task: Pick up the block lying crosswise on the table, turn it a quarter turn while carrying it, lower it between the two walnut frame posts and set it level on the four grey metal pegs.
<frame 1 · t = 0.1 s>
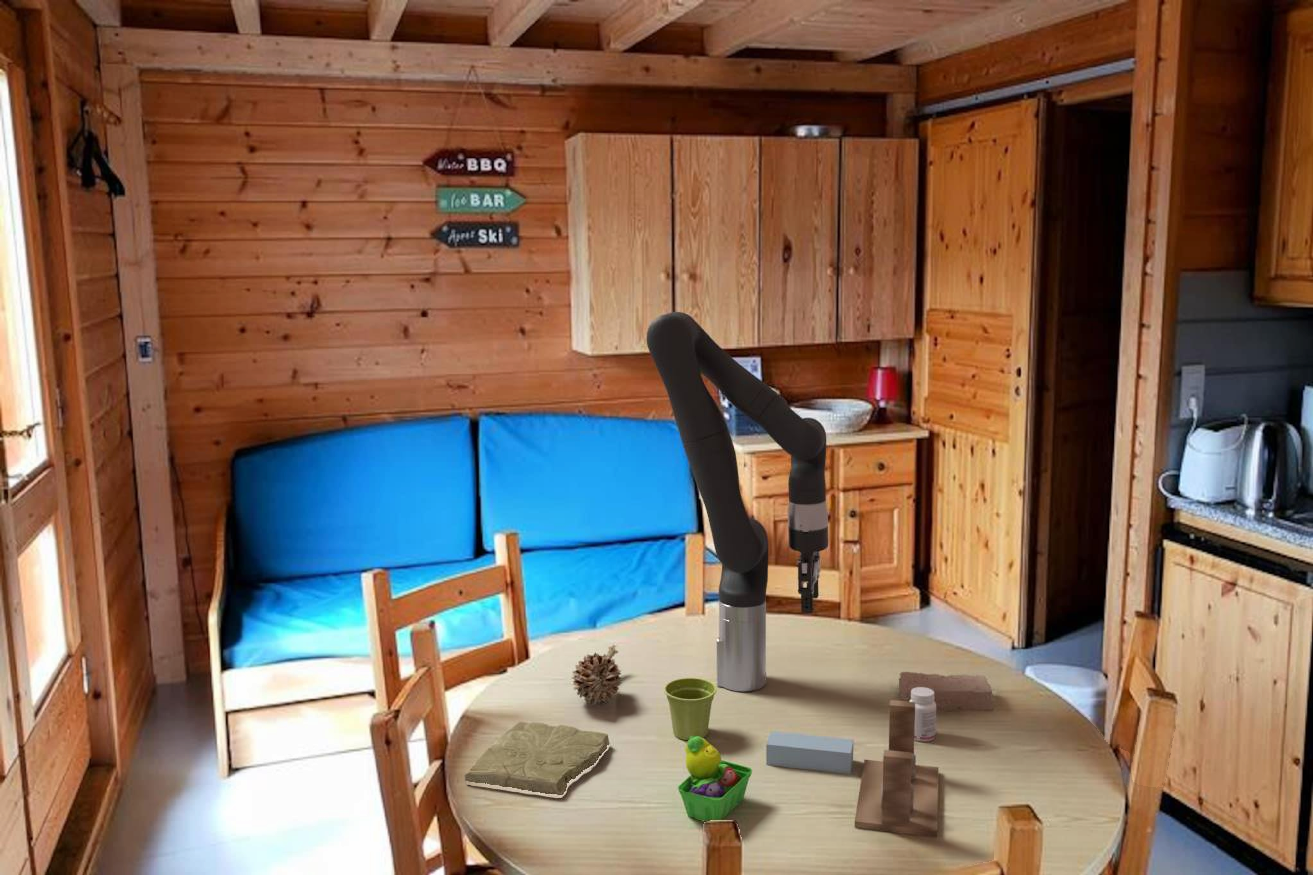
hand: (810, 605, 211), 17 cm above the table, tool pointing down, fingers open, 8 cm apart
plant pot: (690, 734, 196), on the table
pill bottle: (921, 737, 193), on the table
brick: (945, 703, 207), on the table
fruit basket: (712, 808, 171), on the table
block: (809, 763, 185), on the table
pine cone: (601, 694, 213), on the table
decorative tile: (541, 768, 185), on the table
peg stand: (898, 798, 172), on the table
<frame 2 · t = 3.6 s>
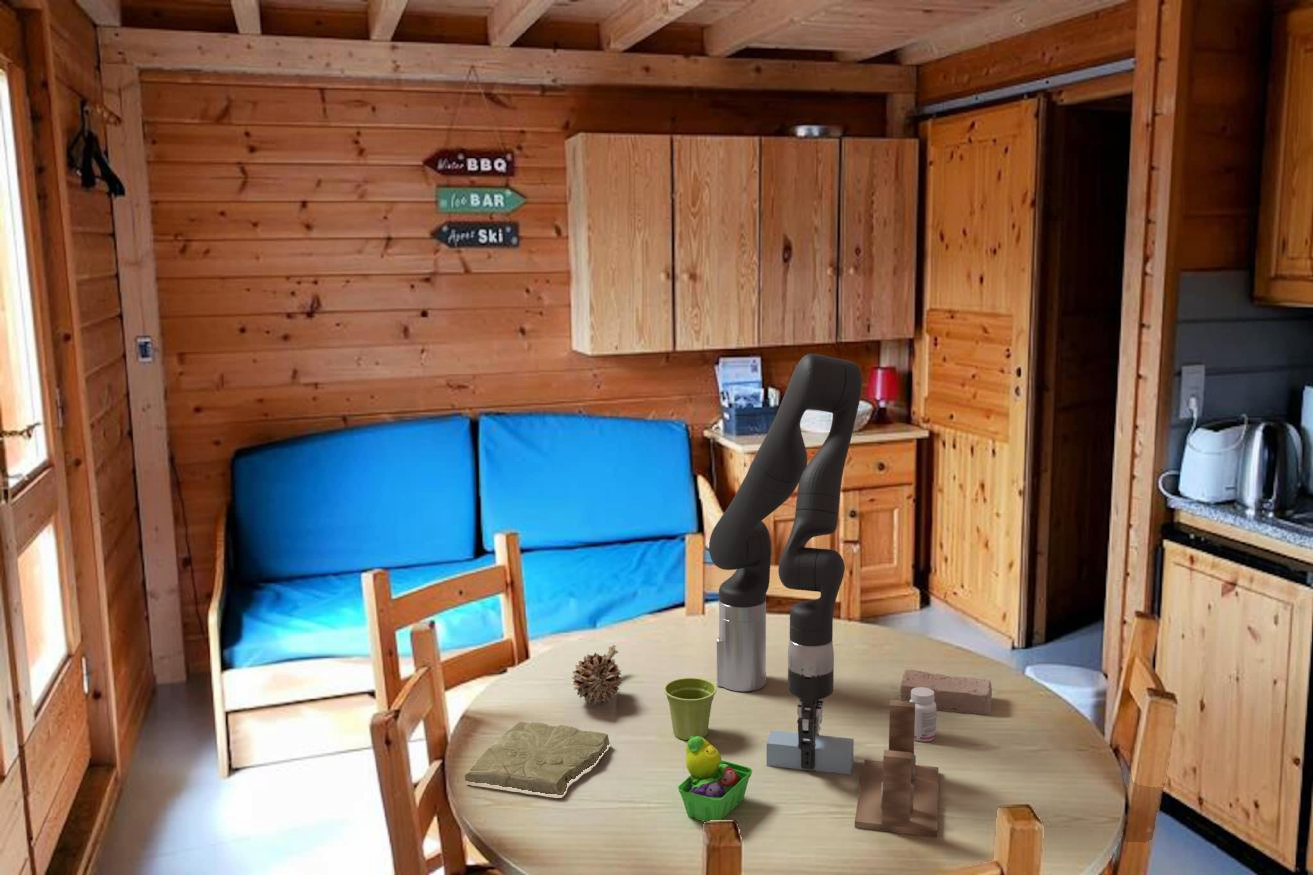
hand: (809, 759, 184), 1 cm above the table, tool pointing down, fingers closed on block, 5 cm apart
block: (810, 762, 184), on the table, touching gripper
when the fingers open (7 cm above the table, at t = 8.6 s): block drops 1 cm, resting on peg stand.
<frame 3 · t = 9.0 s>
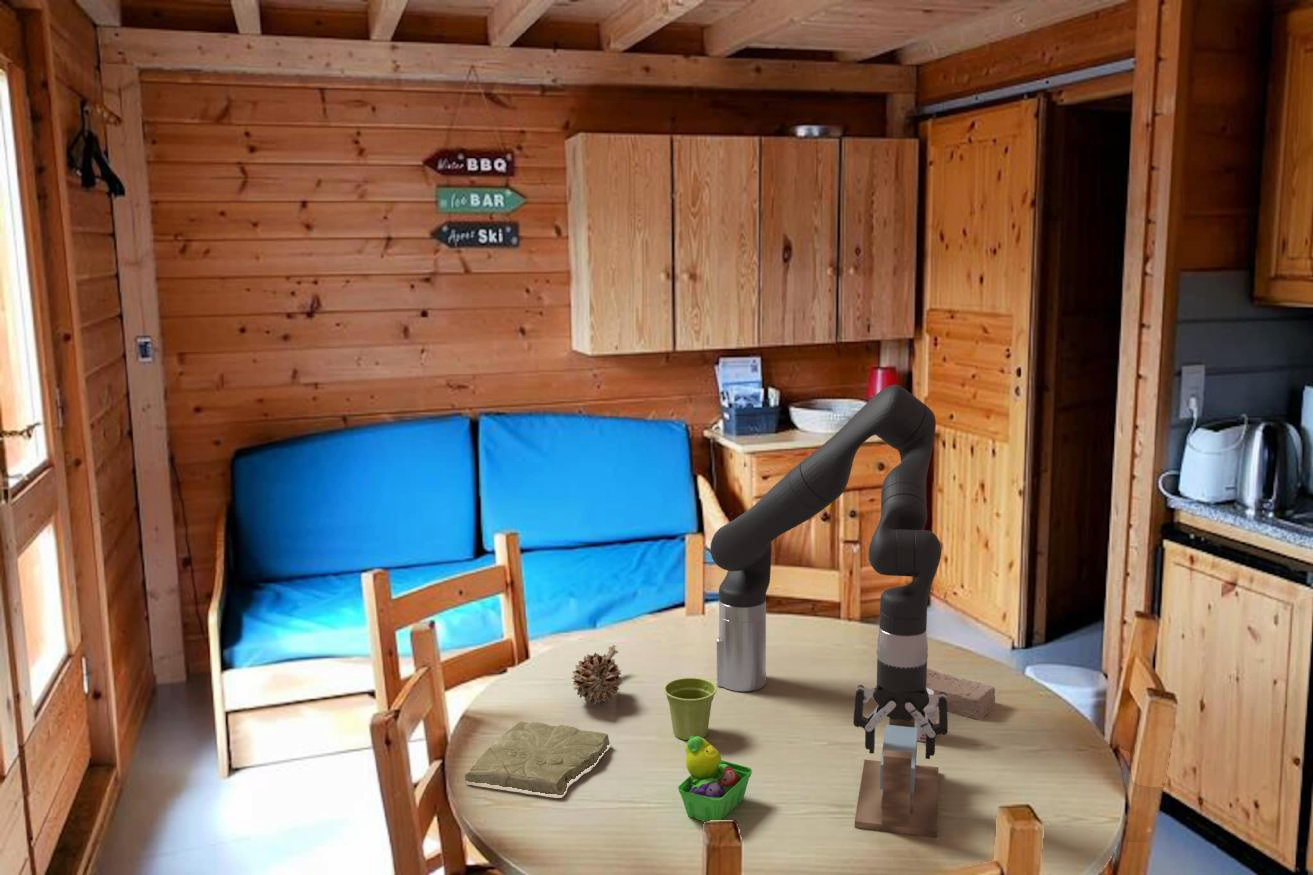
hand: (899, 753, 171), 8 cm above the table, tool pointing down, fingers open, 8 cm apart
block: (899, 769, 171), point 5 cm above the table, touching peg stand
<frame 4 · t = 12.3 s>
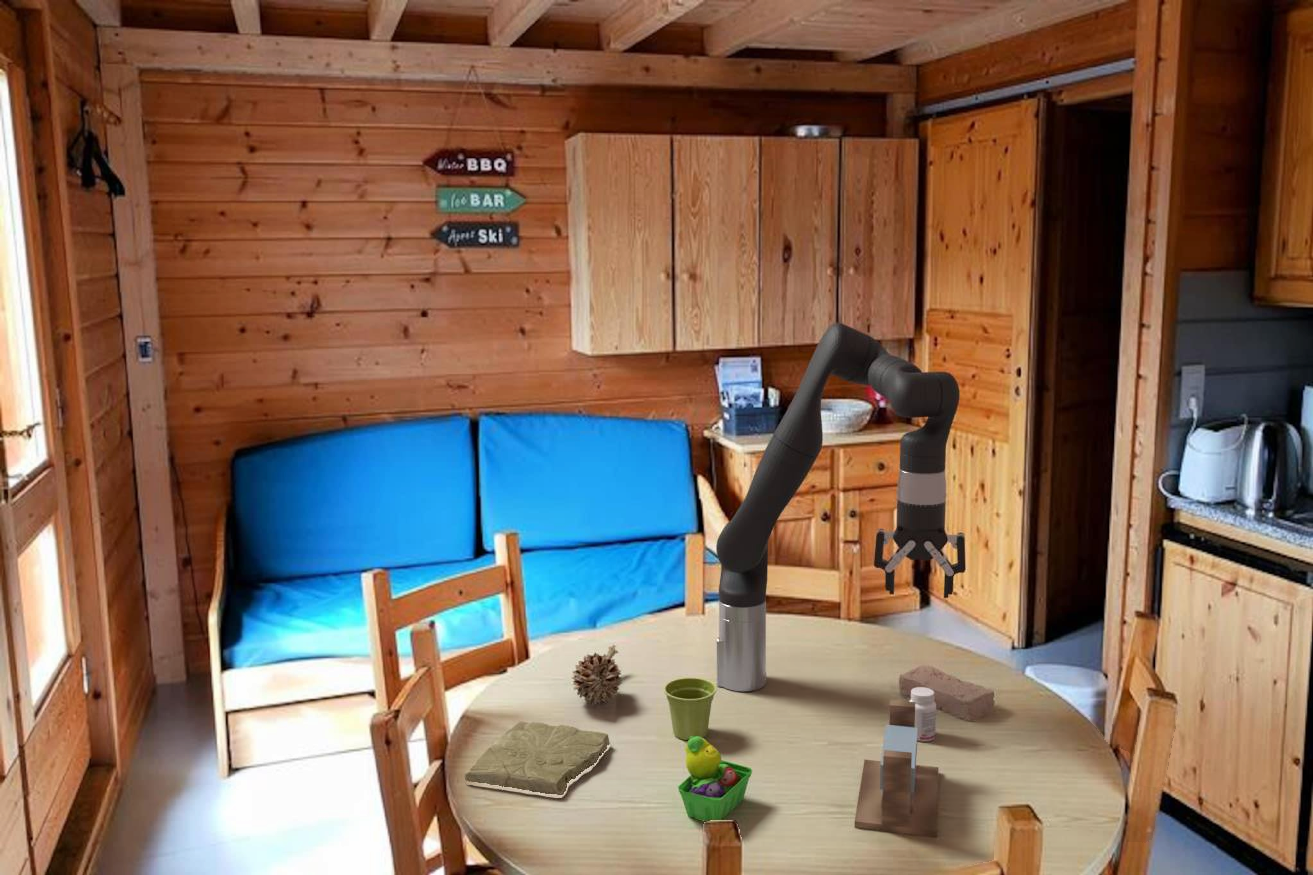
hand: (918, 594, 177), 30 cm above the table, tool pointing down, fingers open, 8 cm apart
at the end: block 0.0 cm off-centre on the peg stand, point 5.0 cm above the peg stand's base; block tilted 0°; the gripper is holding nothing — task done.
